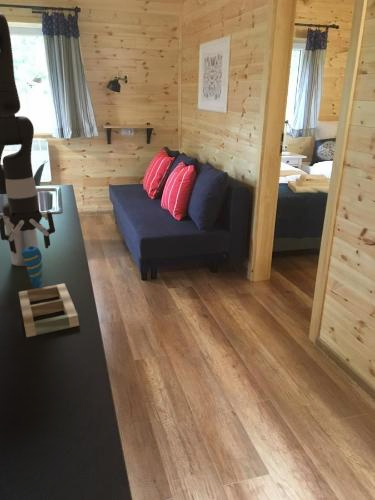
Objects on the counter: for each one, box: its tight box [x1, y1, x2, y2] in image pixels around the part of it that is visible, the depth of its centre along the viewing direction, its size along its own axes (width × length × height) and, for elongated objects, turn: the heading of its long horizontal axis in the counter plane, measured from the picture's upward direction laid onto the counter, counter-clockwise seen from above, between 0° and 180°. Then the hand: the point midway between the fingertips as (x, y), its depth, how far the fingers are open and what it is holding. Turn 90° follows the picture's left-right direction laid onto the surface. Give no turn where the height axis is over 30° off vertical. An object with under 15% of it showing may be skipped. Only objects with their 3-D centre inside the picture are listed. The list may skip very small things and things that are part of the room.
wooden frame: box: [18, 283, 80, 338], centre depth 112 cm, size 20×12×3 cm, turn 24°
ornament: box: [22, 243, 43, 289], centre depth 122 cm, size 5×5×15 cm
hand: (31, 250), depth 120 cm, fingers open, 8 cm apart
